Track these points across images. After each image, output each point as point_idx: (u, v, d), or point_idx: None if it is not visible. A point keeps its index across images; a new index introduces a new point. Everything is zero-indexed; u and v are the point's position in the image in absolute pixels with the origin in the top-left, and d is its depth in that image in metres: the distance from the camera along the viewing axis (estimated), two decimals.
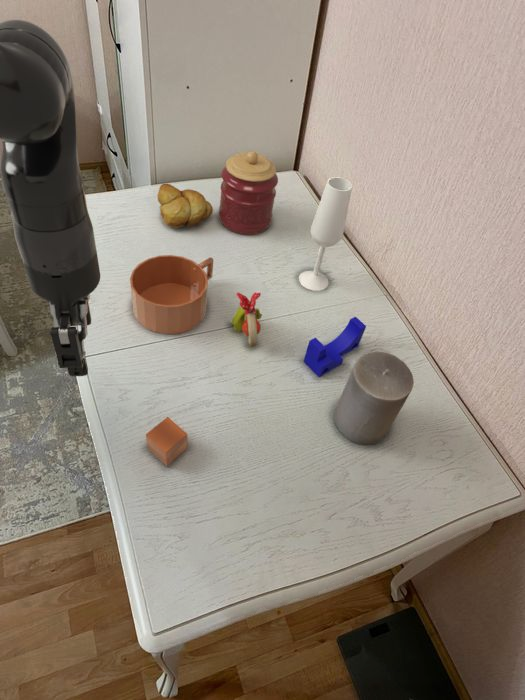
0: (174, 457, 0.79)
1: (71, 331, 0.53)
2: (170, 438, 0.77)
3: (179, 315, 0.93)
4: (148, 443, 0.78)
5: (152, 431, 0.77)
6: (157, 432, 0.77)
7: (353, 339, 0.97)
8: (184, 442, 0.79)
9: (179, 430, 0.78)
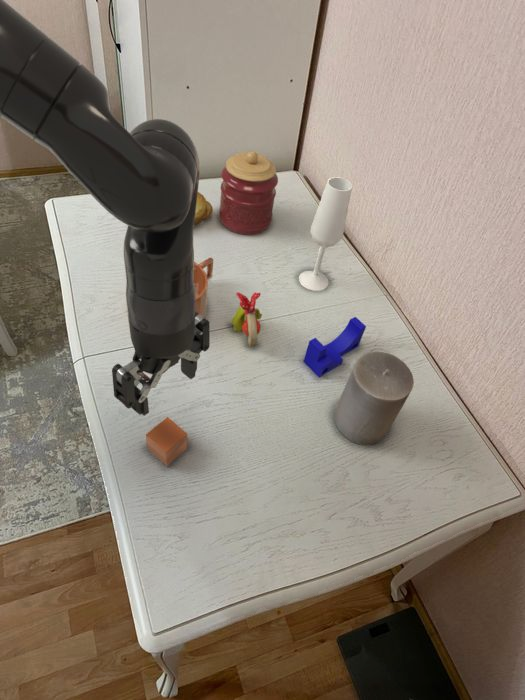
0: (174, 457, 0.79)
1: (125, 377, 0.57)
2: (170, 438, 0.77)
3: None
4: (148, 443, 0.78)
5: (152, 431, 0.77)
6: (157, 432, 0.77)
7: (353, 339, 0.97)
8: (184, 442, 0.79)
9: (179, 430, 0.78)
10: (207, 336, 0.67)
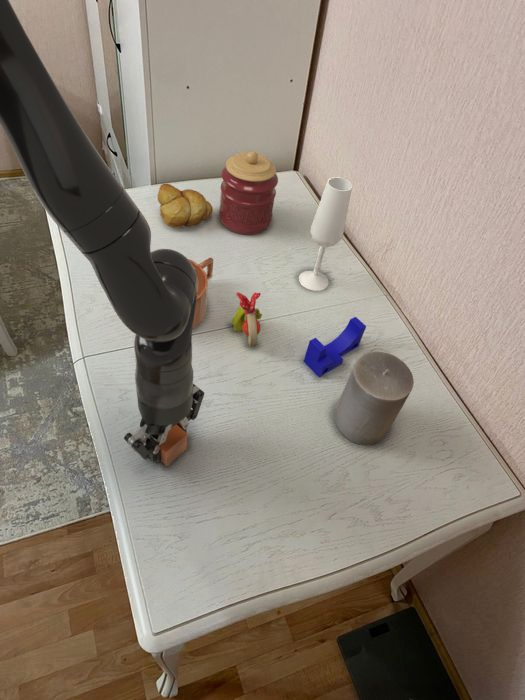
0: (174, 457, 0.79)
1: (134, 445, 0.69)
2: (170, 438, 0.77)
3: None
4: None
5: None
6: None
7: (353, 339, 0.97)
8: (184, 442, 0.79)
9: (179, 430, 0.78)
10: (198, 406, 0.78)
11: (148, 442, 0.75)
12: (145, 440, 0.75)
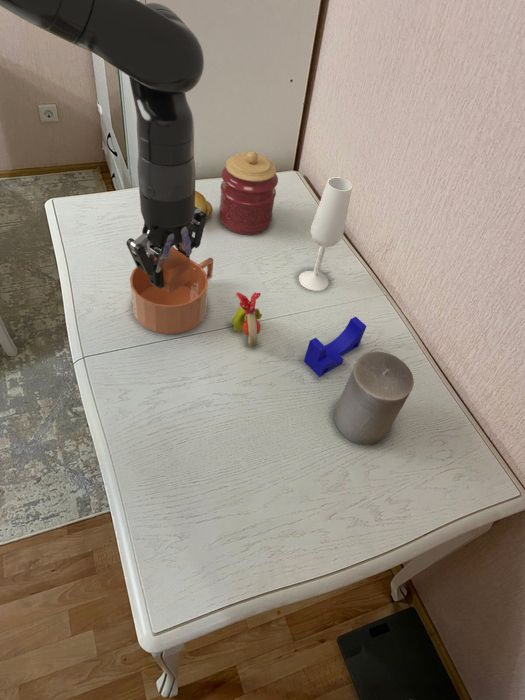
0: (176, 285, 0.79)
1: (136, 248, 0.69)
2: (173, 261, 0.77)
3: (179, 315, 0.93)
4: None
5: None
6: None
7: (353, 339, 0.97)
8: (187, 269, 0.79)
9: (182, 256, 0.78)
10: (201, 231, 0.78)
11: (151, 260, 0.75)
12: None
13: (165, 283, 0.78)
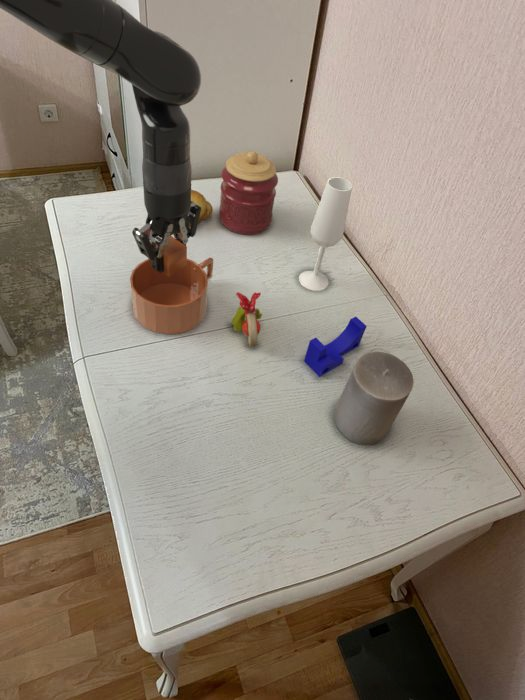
0: (175, 269, 0.91)
1: (141, 236, 0.81)
2: (172, 248, 0.89)
3: (179, 315, 0.93)
4: None
5: None
6: None
7: (353, 338, 0.97)
8: (184, 255, 0.91)
9: (179, 244, 0.90)
10: (196, 222, 0.90)
11: (153, 247, 0.87)
12: None
13: (165, 267, 0.90)
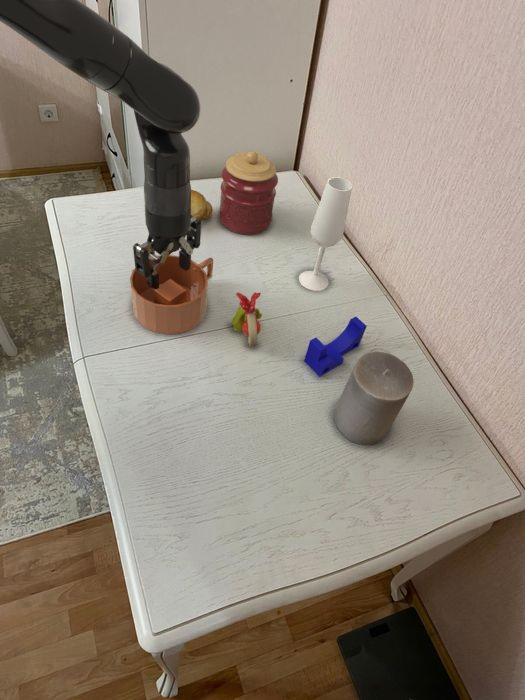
0: None
1: (142, 250, 0.83)
2: (173, 292, 0.97)
3: (179, 315, 0.93)
4: (155, 298, 0.98)
5: None
6: (162, 288, 0.97)
7: (353, 338, 0.97)
8: (184, 298, 0.99)
9: (180, 287, 0.98)
10: (198, 235, 0.92)
11: None
12: None
13: None
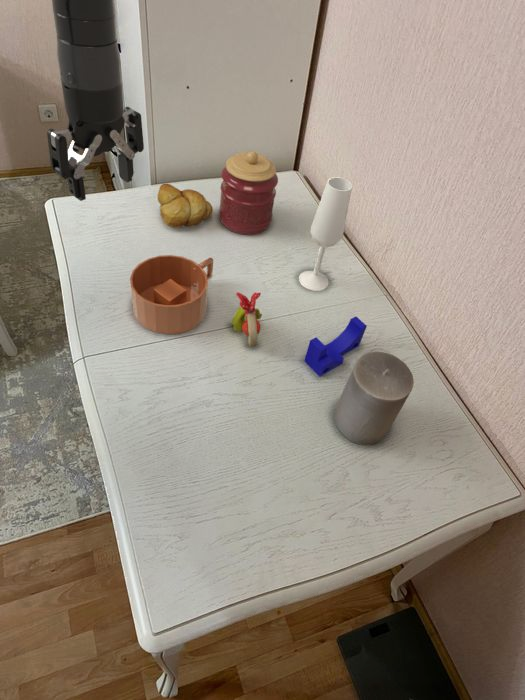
0: None
1: (58, 136, 0.65)
2: (173, 292, 0.97)
3: (179, 315, 0.93)
4: (155, 298, 0.98)
5: (158, 287, 0.97)
6: (162, 288, 0.97)
7: (353, 338, 0.97)
8: (184, 298, 0.99)
9: (180, 287, 0.98)
10: (139, 133, 0.74)
11: (68, 165, 0.70)
12: None
13: None
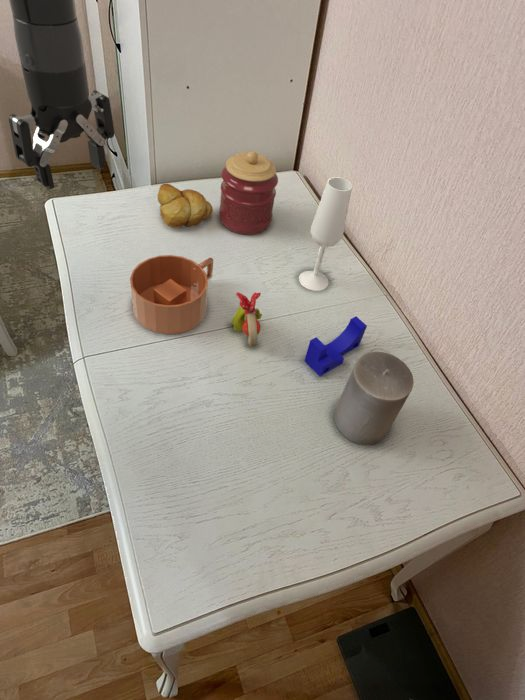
0: None
1: (19, 122, 0.62)
2: (173, 292, 0.97)
3: (179, 315, 0.93)
4: (155, 298, 0.98)
5: (158, 287, 0.97)
6: (162, 288, 0.97)
7: (353, 338, 0.97)
8: (184, 298, 0.99)
9: (180, 287, 0.98)
10: (109, 118, 0.72)
11: (34, 153, 0.67)
12: (32, 149, 0.68)
13: None
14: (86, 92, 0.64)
